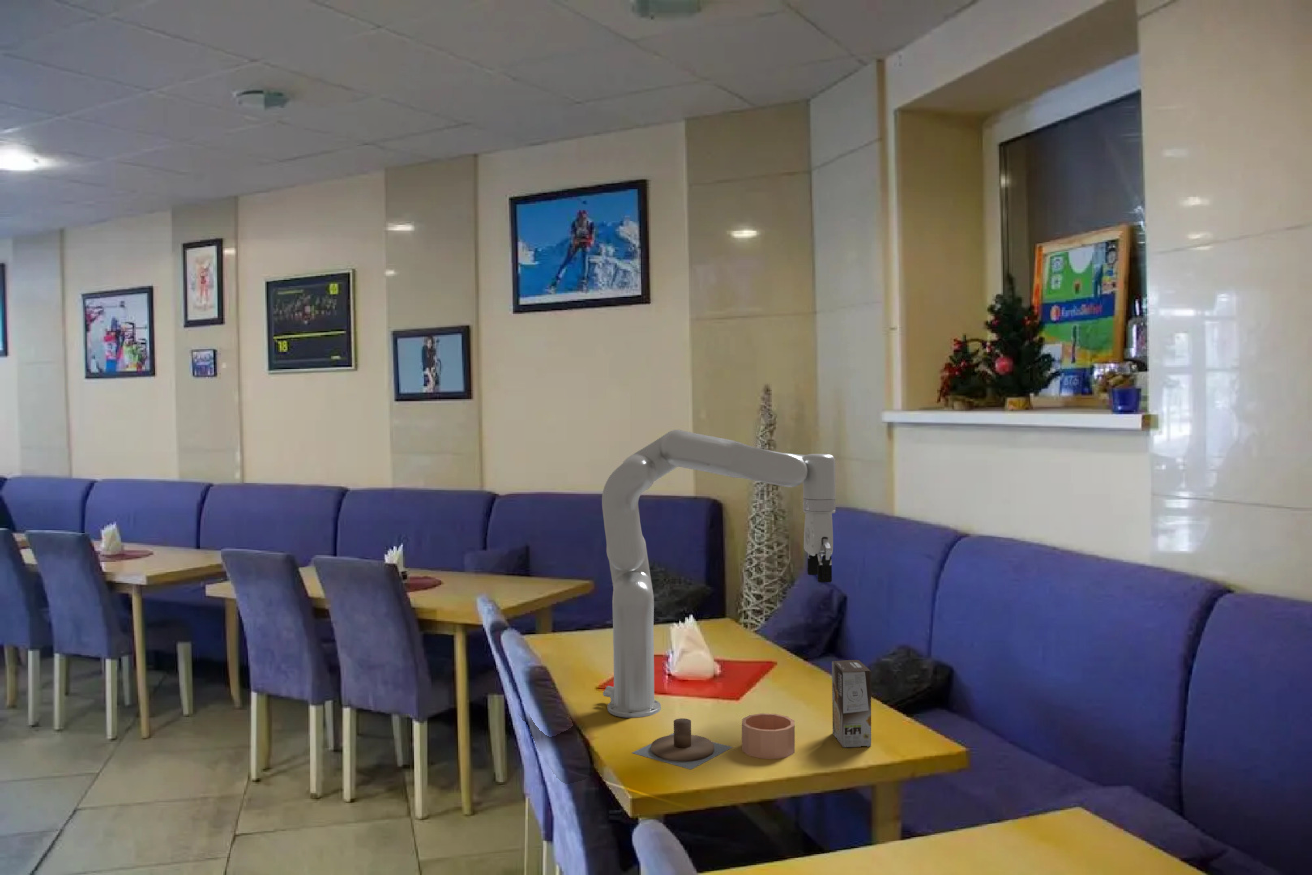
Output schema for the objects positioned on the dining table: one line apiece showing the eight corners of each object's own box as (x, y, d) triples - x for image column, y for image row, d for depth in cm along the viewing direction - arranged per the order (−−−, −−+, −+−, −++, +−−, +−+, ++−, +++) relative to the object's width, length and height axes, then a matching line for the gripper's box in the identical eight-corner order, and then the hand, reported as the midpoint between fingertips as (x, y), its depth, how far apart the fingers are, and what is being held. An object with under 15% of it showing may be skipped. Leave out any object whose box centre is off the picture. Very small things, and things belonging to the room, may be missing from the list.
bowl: (732, 752, 195) (732, 723, 194) (759, 737, 203) (759, 710, 203) (777, 764, 188) (777, 734, 188) (804, 748, 197) (803, 720, 196)
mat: (631, 754, 194) (631, 752, 194) (675, 734, 206) (674, 732, 206) (691, 771, 185) (691, 769, 185) (732, 748, 197) (732, 746, 197)
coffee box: (872, 746, 197) (872, 670, 197) (842, 748, 197) (842, 671, 196) (859, 731, 206) (859, 659, 206) (830, 732, 206) (830, 660, 205)
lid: (638, 752, 194) (638, 723, 194) (675, 734, 204) (675, 707, 204) (689, 766, 186) (689, 736, 186) (726, 747, 197) (725, 718, 196)
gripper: (795, 502, 230) (795, 572, 231) (812, 510, 213) (812, 585, 214) (825, 502, 231) (825, 571, 232) (845, 509, 214) (845, 584, 214)
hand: (819, 578), depth 223 cm, fingers open, 9 cm apart
